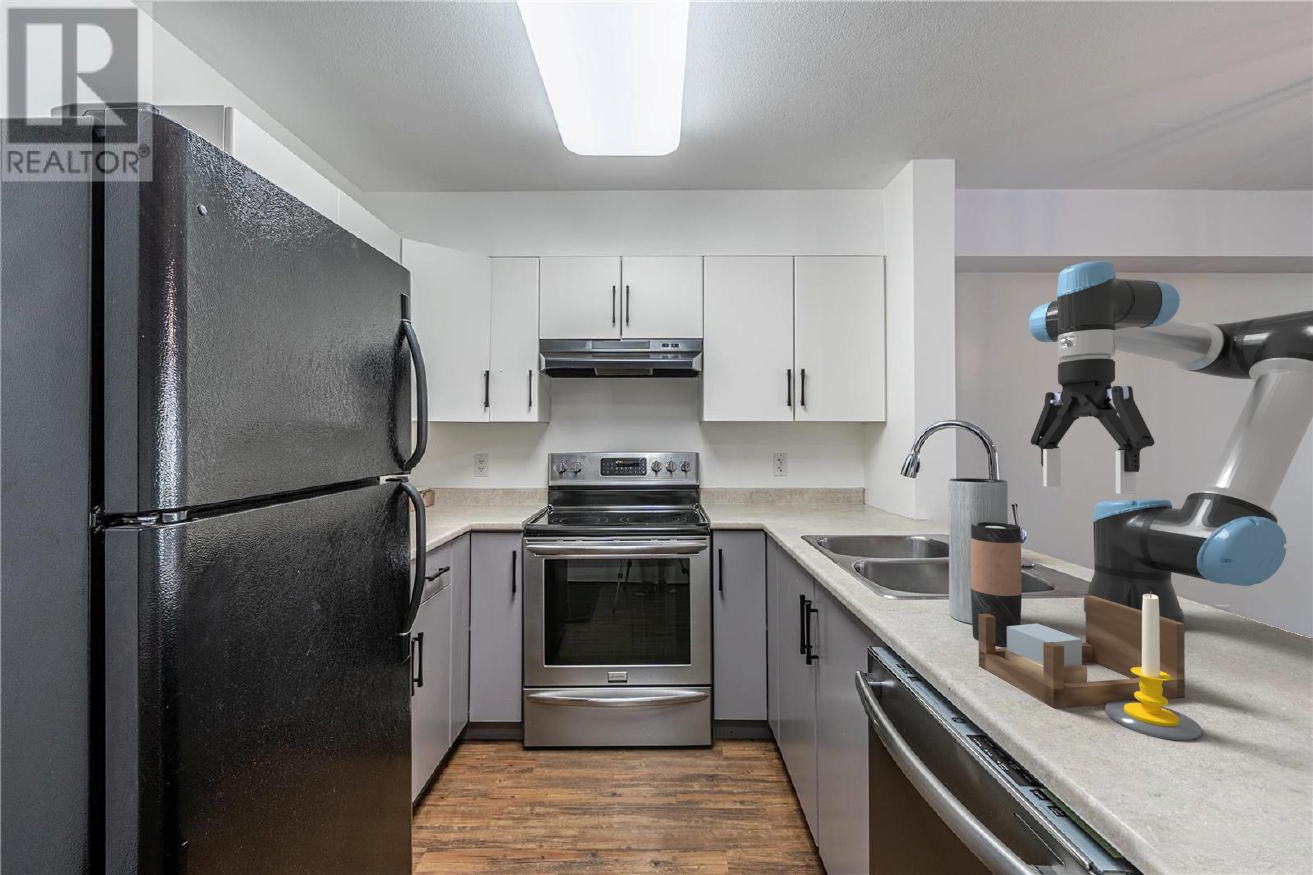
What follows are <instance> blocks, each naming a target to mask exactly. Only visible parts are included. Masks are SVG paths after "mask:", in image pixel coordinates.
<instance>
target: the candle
mask: <svg viewBox="0 0 1313 875" xmlns="http://www.w3.org/2000/svg"><path fill="white" fill-rule="evenodd" d="M1131 671H1132V672H1133V673H1134V674H1136V675H1139V678H1140V683H1139V686H1140V691H1137V692H1135V693H1134V697H1135V698H1136V699H1137V700H1139V702H1141V703H1128V704H1125V705H1124V711H1125V712H1126V713H1127V714H1128V715H1129V716H1131V717H1133V718H1135V719H1137V720H1139V721H1142V722H1145V723H1148V724H1152V725H1157V726H1165V727H1172V726H1176V725H1178V724H1179V718H1178V717H1177V716H1176V715H1175V714H1174V713H1172V712H1170V711H1168V710H1166V709H1163V708H1162V707H1165V706H1168V704H1169V701H1168V700H1169V699H1166V698H1165V697H1163V696H1162V692H1163V688H1162V683H1163V681H1166V680H1171V679H1172V677H1171V676H1170V675H1169V674H1167V673H1164V672H1162V671H1160V635H1159V599H1158V596H1156V595H1153V594H1151V591H1150V594H1144V595H1143V604H1142V667H1134V668H1131Z"/></svg>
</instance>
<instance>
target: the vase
mask: <svg viewBox="0 0 1313 875" xmlns="http://www.w3.org/2000/svg"><path fill="white" fill-rule="evenodd" d="M1008 486H1009V485H1008V481H1007V480H1004V479H999V478H998V479H995V478H979V477H975V478H974V477H973V478H972V477H971V478H970V477H968V478H967V477H965V478H964V477H962V478H961V477H960V478H959V477H958V478H950V479H949V480H948V592H949V594H948V601H949V602H948V606H949V607H948V610H949V616H950V617H951V618H953V619H954V620H956V621H959V622H962V623H965V624H970V625H972V604H971V524H973V525H977V524H978V523H980V522H994V523H1006V524H1009V520H1008V519H1009V518H1008V517H1009V516H1008V515H1009V514H1008V513H1009V512H1008V511H1009V510H1008V508H1009V506H1008V502H1009V501H1008V498H1009V496H1008V495H1009V494H1008V490H1009V489H1008V488H1009V487H1008Z"/></svg>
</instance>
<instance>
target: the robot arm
mask: <svg viewBox="0 0 1313 875" xmlns="http://www.w3.org/2000/svg"><path fill="white" fill-rule="evenodd" d="M1055 295H1056V299H1057V300H1052V301H1049V302H1047V303H1045V304H1041V305H1039V306H1037V307H1035V308H1034V309H1033V311H1032V312H1031V313H1030V316H1029V318H1028V319H1029V320H1028V328H1029V332H1030V335H1031V336H1032V337H1033V338H1034V339H1036V340H1037V341H1038V342H1041V343H1056V342H1057V358H1058V359H1059V361H1062V362H1059V364H1058V365H1057V383H1058V384H1059V385H1060V386H1061V387H1062V390H1061V391H1059V392H1058V391H1056V392H1055V391H1054V392H1053V391H1052V392H1050V391H1049V392H1046V393H1045V397H1044V404H1043V408H1042V410H1041V413H1040V416H1039V418H1038V420H1037V424H1036V426H1035V428H1034V431H1033V433H1032V436H1031V439H1030V444H1031V445H1033V446H1037V447H1038V448H1039V449H1040V464H1041V467H1042V468H1043V469H1042V470H1043V471H1042V474H1043V475H1042V477H1043V478H1042V479H1043V480H1042V483H1043V485H1042V486H1043V487H1061V485H1062V484H1061V483H1062V482H1061V480H1062V479H1061V476H1062V475H1061V470H1062V469H1061V468H1062V467H1061V462H1062V461H1061V448H1060V446H1059V443H1060V442H1061V441H1062V439H1063V438H1064V437H1065V435H1066V433H1067V432H1068V431H1069V429H1070V428H1071V426H1073V424H1074V423H1075V421H1076V420H1078V419H1079V418H1088V417H1093V418H1095V419H1097V420H1098V421H1099V423H1101V425H1102V426H1103V427H1104V429H1105V431H1107V432H1108V434H1109V435H1110V436H1111V437H1112V439H1113V440H1114V441H1115V442H1116V443H1117V445H1118V446H1119V447H1118V448H1117V450H1115V494H1117V495H1130V494H1131V495H1135V494H1137V473H1138V472H1140V469H1141V468H1140V466H1141V464H1140V463H1141V462H1140V461H1141V458H1140V457H1141V455H1140V454H1141V450H1142V449H1145V448H1147V447H1153V446H1154V444H1155V439H1154V438H1153V436H1152V434H1151V432H1150V429H1149V427H1148V426H1147V424H1146V422H1145V420H1144V417H1143V415H1142V414H1141V412H1140V409H1139V408H1138V404H1137V403H1136V402H1135V398H1134V392H1133V391H1134V390H1133V387H1132V385H1113V386H1112V383H1113V382H1114V381H1115V380H1116V360H1114V359H1112V357H1114V356H1115V355H1116V351H1117V352H1123V353H1128V354H1134V355H1138V356H1141V357H1148V358H1152V359H1158V360H1162V361H1166V362H1171V363H1172V365H1174V366H1175V367H1177V368H1178V369H1179V370H1180V369H1181V370H1183V371H1184V370H1185V371H1188V372H1194V373H1198V374H1204V375H1208V376H1209V375H1210V376H1213V377H1214V376H1215V377H1222V378H1227V379H1235V380H1252V381H1253V382H1254V385H1253V387H1252V389H1251V391H1250V393H1249V395H1248V398H1247V399H1246V401H1245V403H1244V406H1243V408H1242V410H1241V412H1240V413H1239V416H1238V417H1237V420H1236V422H1235V424H1234V426H1233V428H1232V429H1231V430H1232V431H1231V432H1230V434H1229V436H1228V439H1227V440H1226V442H1225V445H1224V446H1223V449H1222V450H1221V452H1220V454H1219V457H1218V458H1217V461H1216V462H1215V465H1214V467H1213V469H1212V471H1211V473H1210V475H1209V477H1208V480H1207V481H1206V482H1205V485H1204V487H1203V489H1199V490H1195V491H1192V492H1190V493H1189V494H1188V495H1187V496H1186V499H1185V500H1184V502H1183V505H1182V507H1181V508H1173V504H1172V502H1171V500H1169V499H1164V498H1161V499H1160V498H1159V499H1156V498H1155V499H1126V500H1125V499H1118V500H1101V501H1099V502H1098V503H1097V504H1096V505H1095V506H1094V512H1093V513H1094V514H1093V520H1092V525H1093V561H1094V566H1093V567H1094V569H1093V570H1094V571H1093V572H1094V573H1093V576H1092V579H1091V580H1090V584H1089V586H1088V590H1087V593H1086V595H1084V598H1083V612H1085V613H1086V596H1095V597H1098V598H1102V599H1105V600H1108V601H1111V602H1115V603H1118V604H1121V605H1125V606H1128V607H1131V608H1134V609H1138V610H1141V611H1142V604H1143V595H1144V594H1150V591H1151V594H1153V595H1156V596H1158V599H1159V616H1161V617H1164V618H1167V619H1170V620H1174V621H1177V622H1180V623H1184V624H1185V613H1184V610H1183V609H1182V608H1181V605H1180V602H1179V599H1178V596H1177V593H1176V590H1175V588H1174V586H1173V581H1172V573H1173V574H1178V575H1183V576H1187V577H1192V578H1197V579H1202V580H1205V581H1209V582H1211V583H1215V584H1222V585H1223V584H1225V585H1227V584H1228V585H1231V586H1232V585H1234V586H1240V587H1249V586H1254V585H1258V584H1261V583H1263V582H1266V581H1267V580H1269V579H1271V577H1273V576H1274V575H1275V573H1277V572H1278V570H1279V569H1280V567H1281V566H1282V565H1283V563H1284V561H1285V558H1286V554H1287V548H1286V547H1285V545H1286V544H1287V536H1286V533H1285V532H1284V530H1283V528H1282V527H1281V525H1279V524H1278V522H1279V518H1278V516H1277V515H1276V513H1274V511H1273V510H1272V509H1271V507H1272V505H1273V502H1274V501H1275V499H1276V496H1277V494H1278V493H1279V490H1280V487H1281V486H1282V483H1283V481H1284V479H1285V477H1286V475H1287V473H1288V471H1289V468H1290V466H1291V464H1292V463H1293V460H1294V458H1295V456H1296V454H1297V452H1298V450H1299V447H1300V444H1301V443H1302V441H1303V438H1304V437H1305V434H1306V432H1307V430H1308V429H1309V426H1310V423H1311V422H1312V420H1313V309H1312V310H1306V311H1305V310H1304V311H1298V312H1292V313H1287V314H1279V315H1274V316H1273V315H1272V316H1267V317H1260V318H1253V319H1252V318H1251V319H1247V320H1241V321H1235V322H1227V323H1218V324H1217V323H1209V322H1203V321H1201V322H1200V321H1199V322H1195V323H1191V324H1189V323H1185V322H1180V321H1176V320H1171V319H1172V318H1174V316H1175V315H1176V314H1177V313H1178V310H1179V309H1180V308H1179V307H1180V301H1181V299H1180V293H1179V291H1178V290H1177V288H1176V287H1175V286H1173V285H1172V284H1170V283H1167V282H1162V281H1156V280H1154V279H1147V280H1146V279H1145V280H1143V279H1142V280H1141V279H1125V278H1123V279H1122V278H1118V277H1117V272H1116V269H1115V264H1113V263H1111V262H1110V261H1108V260H1105V261H1103V260H1097V261H1096V260H1094V261H1087V262H1085V261H1084V262H1080V263H1076V264H1073V265H1070V266H1067V267H1065V268H1064V269H1062V270H1061V271H1060V272H1059V274H1058V281H1057V292H1056V294H1055ZM1111 401H1112V403H1113V404H1112V403H1111Z"/></svg>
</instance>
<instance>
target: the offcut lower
mask: <svg viewBox="0 0 1313 875" xmlns="http://www.w3.org/2000/svg"><path fill="white" fill-rule="evenodd" d="M1004 648H1005V659H1006V660H1008V661H1010V662H1012V663H1013V664H1015V665H1017V666H1019V667H1021V668H1023V669H1025V670H1027V671H1029V672H1031V673H1033V674H1035V675H1037V676H1039V677H1041V678H1043V679H1044V671H1043V665H1041V664H1038V663H1036V662H1034V661H1031V660H1029V659H1027V658H1024V657H1022V656H1020V655H1017V654H1015V653H1013V652H1010V651H1008V650H1007V647H1004ZM1079 682H1088V667H1087V666H1085V665H1084V664H1080V665H1072V666H1064V684H1065V683H1079Z"/></svg>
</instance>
